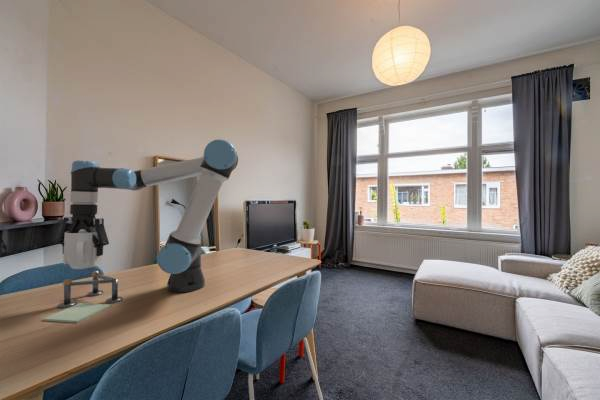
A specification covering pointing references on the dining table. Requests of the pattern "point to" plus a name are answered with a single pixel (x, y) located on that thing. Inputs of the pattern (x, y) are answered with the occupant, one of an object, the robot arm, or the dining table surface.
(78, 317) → the pad
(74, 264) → the mug
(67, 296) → the small metal rack
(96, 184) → the robot arm
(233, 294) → the dining table surface
